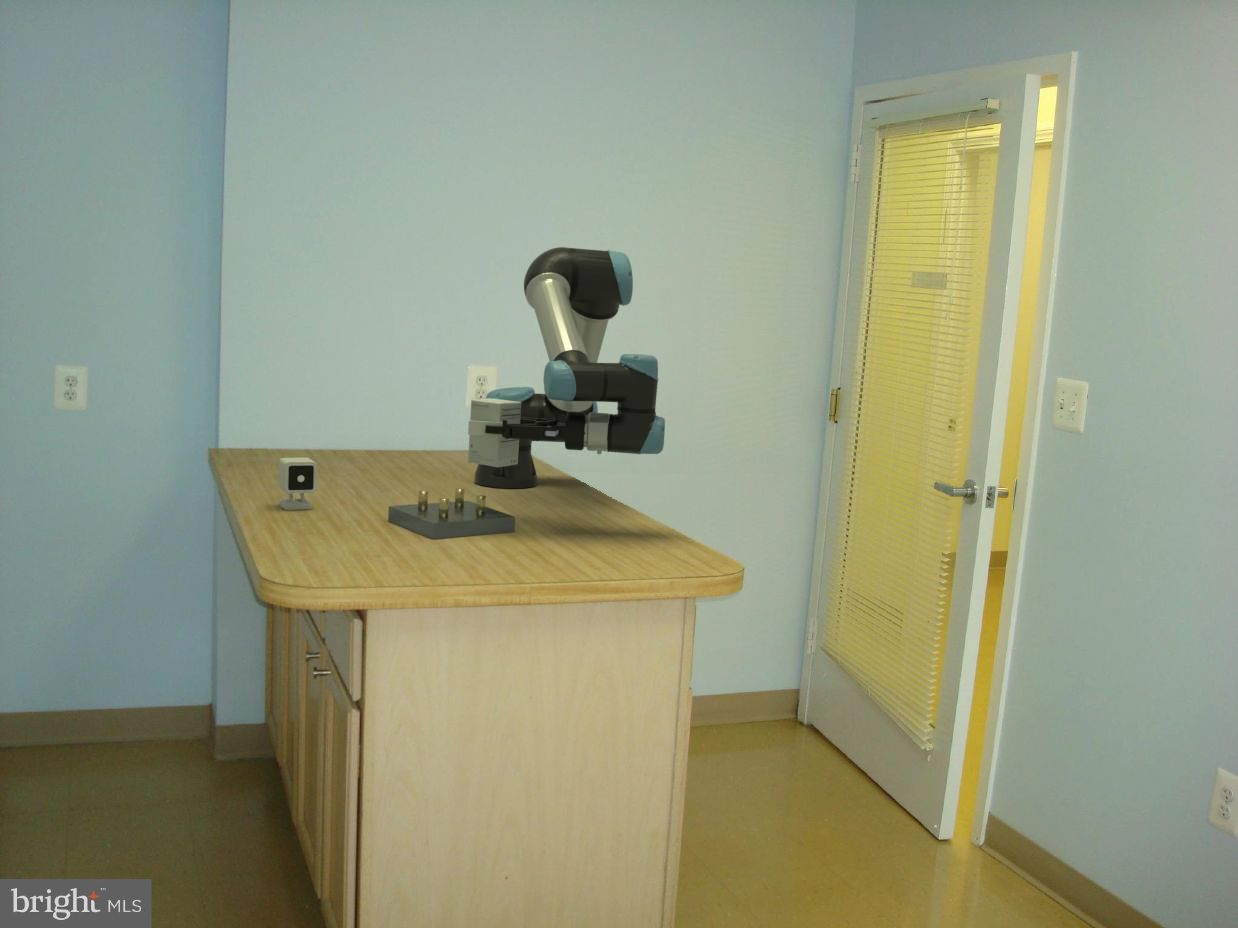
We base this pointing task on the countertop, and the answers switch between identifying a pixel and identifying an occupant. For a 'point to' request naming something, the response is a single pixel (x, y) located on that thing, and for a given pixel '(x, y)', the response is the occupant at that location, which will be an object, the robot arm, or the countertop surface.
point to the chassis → (451, 517)
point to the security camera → (297, 481)
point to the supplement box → (494, 447)
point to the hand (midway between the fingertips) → (472, 424)
